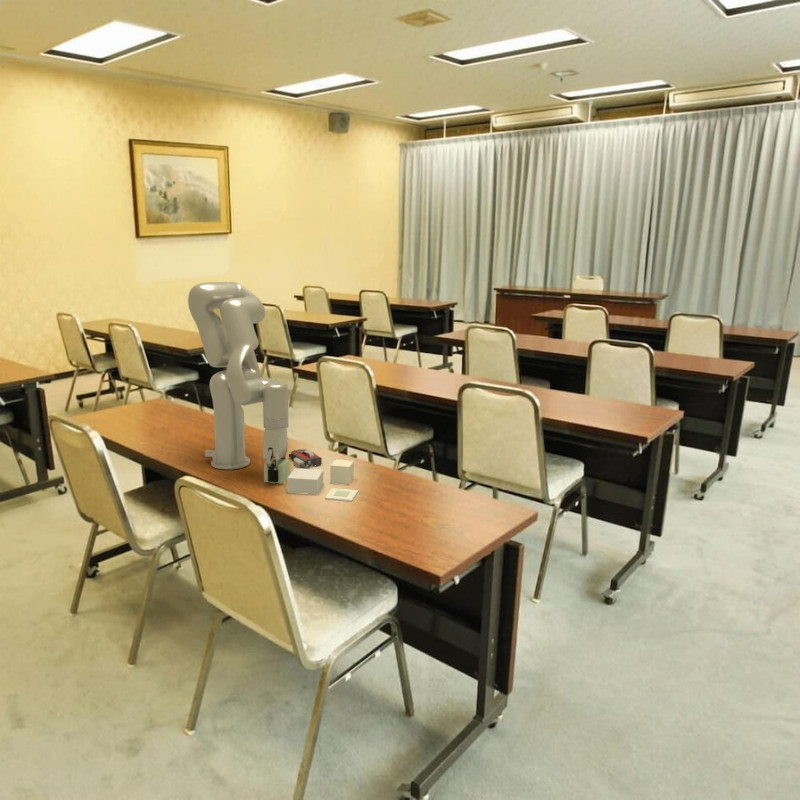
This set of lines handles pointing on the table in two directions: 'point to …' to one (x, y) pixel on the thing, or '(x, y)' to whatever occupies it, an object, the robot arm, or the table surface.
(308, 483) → the base block
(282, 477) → the sage cube
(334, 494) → the card
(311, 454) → the walkie-talkie
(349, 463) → the cream cube
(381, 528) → the table surface
